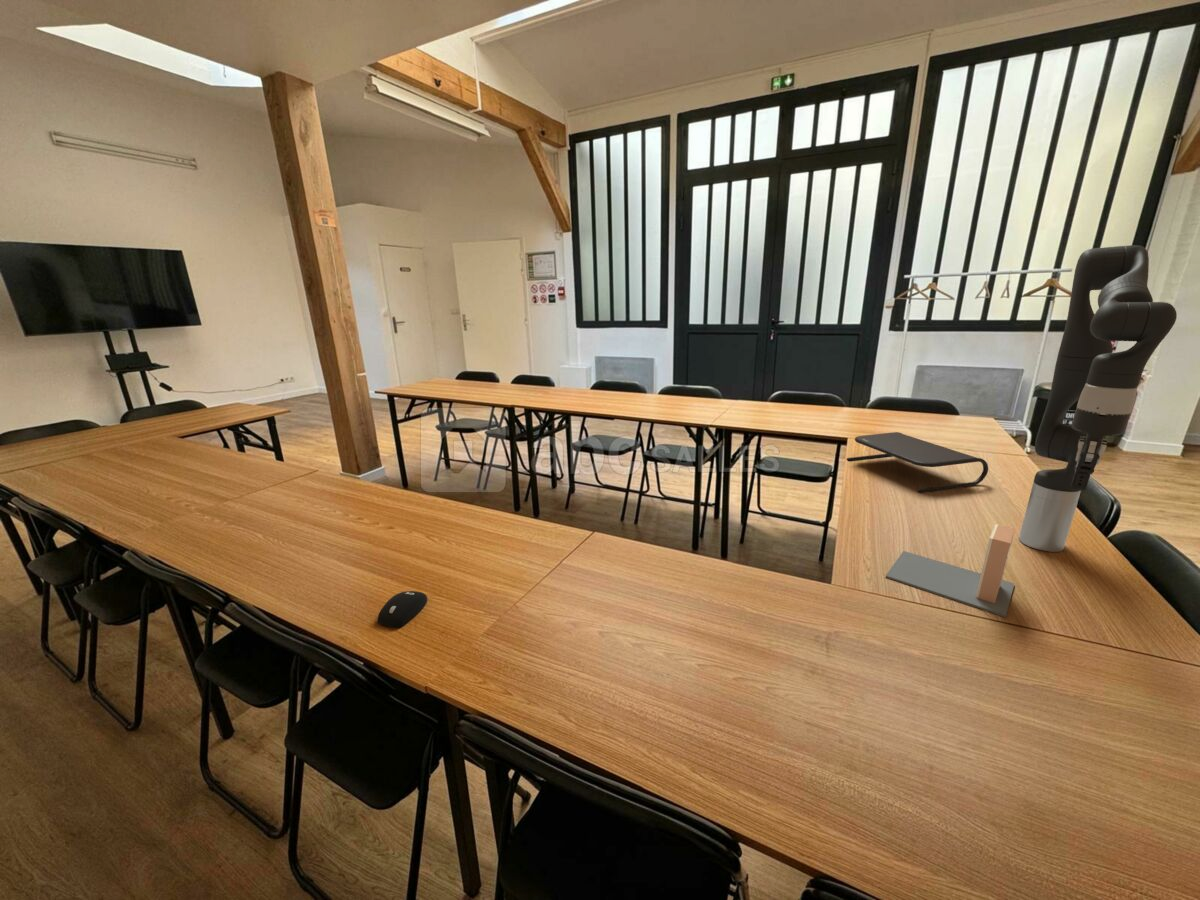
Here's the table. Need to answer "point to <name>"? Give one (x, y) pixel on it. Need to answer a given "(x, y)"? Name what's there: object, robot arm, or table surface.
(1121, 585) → the table surface
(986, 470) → the monitor stand
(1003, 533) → the peach rectangular block
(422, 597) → the computer mouse
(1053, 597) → the table surface
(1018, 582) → the table surface
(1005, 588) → the mat
